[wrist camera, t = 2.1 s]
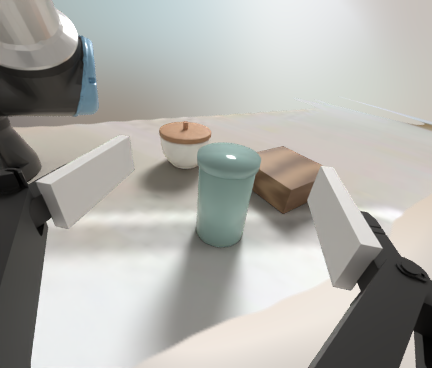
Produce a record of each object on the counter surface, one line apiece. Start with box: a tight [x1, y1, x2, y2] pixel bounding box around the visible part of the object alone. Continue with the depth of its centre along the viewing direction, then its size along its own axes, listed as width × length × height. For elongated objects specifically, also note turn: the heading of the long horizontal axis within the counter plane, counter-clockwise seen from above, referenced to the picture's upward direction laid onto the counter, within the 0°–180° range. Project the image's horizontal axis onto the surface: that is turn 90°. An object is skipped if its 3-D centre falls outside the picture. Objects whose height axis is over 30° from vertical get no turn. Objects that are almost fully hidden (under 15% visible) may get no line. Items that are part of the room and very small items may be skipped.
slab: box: [252, 146, 323, 214], centre depth 42 cm, size 13×13×5 cm
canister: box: [196, 143, 261, 247], centre depth 28 cm, size 8×8×12 cm
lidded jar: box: [159, 121, 211, 169], centre depth 46 cm, size 11×11×9 cm
